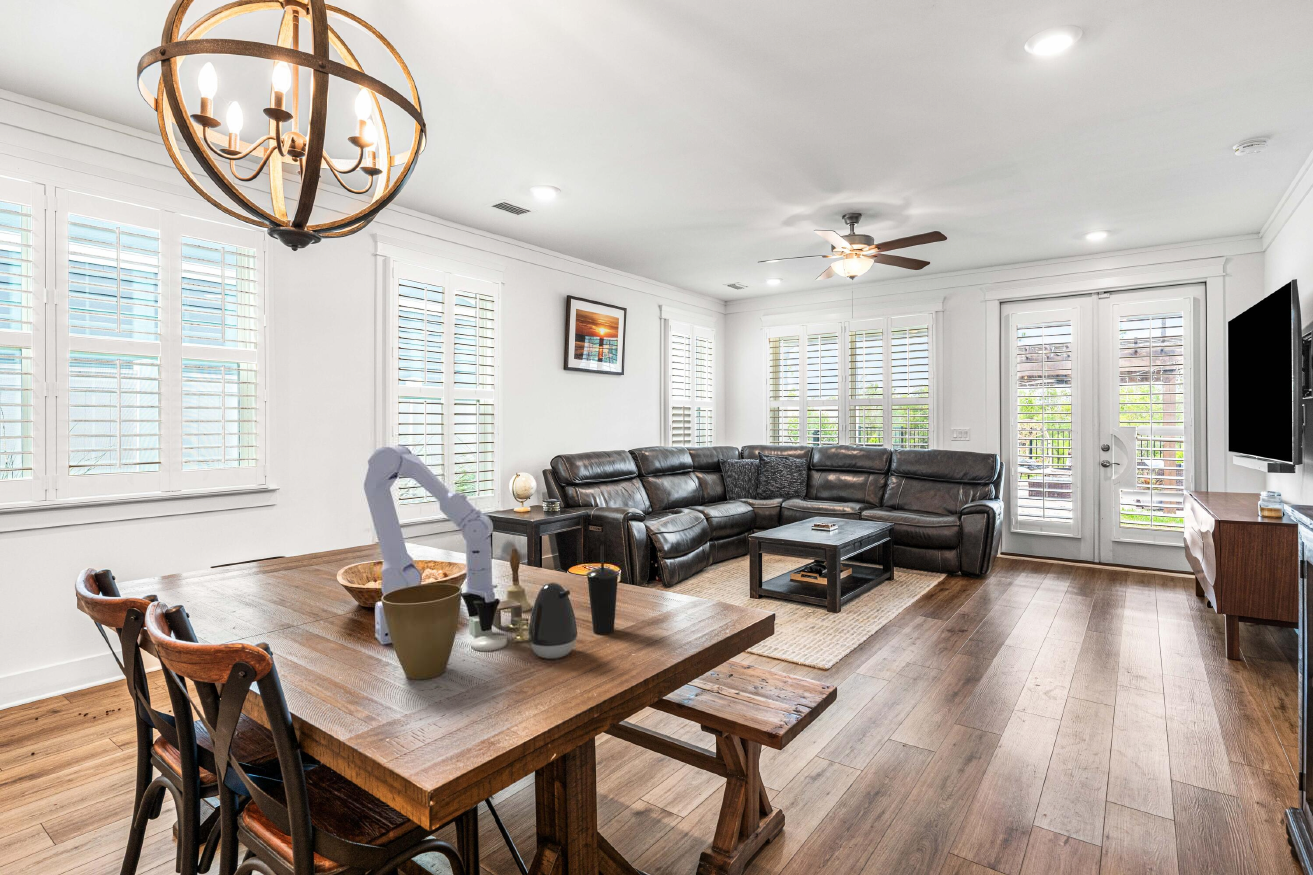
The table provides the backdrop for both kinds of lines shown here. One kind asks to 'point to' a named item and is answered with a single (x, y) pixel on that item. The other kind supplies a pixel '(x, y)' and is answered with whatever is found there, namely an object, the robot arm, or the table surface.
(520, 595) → the hand bell
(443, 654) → the plant pot
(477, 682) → the table surface
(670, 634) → the table surface
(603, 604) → the drinking cup
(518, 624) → the balance
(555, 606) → the pump dispenser
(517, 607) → the cover
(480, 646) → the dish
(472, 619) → the block
